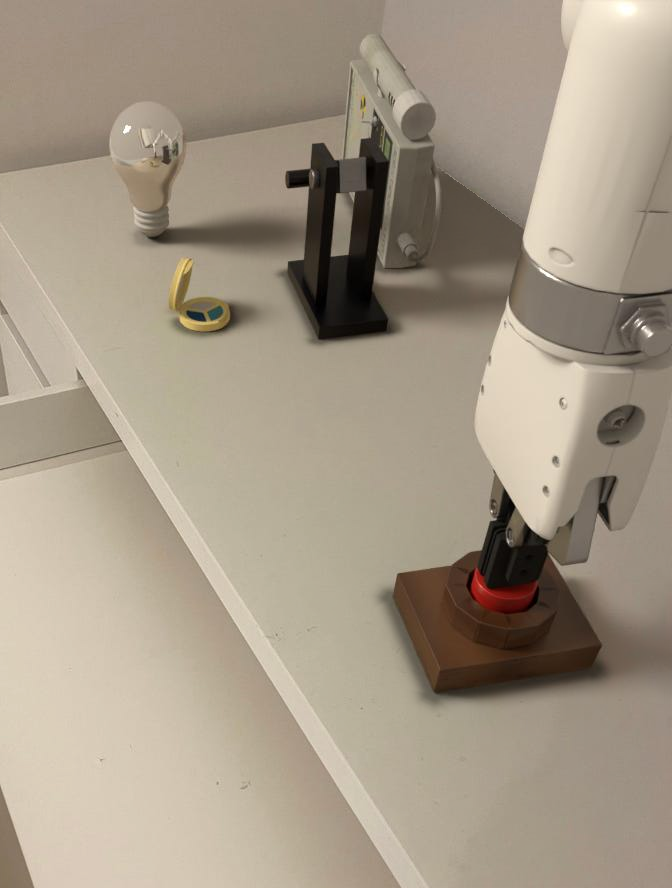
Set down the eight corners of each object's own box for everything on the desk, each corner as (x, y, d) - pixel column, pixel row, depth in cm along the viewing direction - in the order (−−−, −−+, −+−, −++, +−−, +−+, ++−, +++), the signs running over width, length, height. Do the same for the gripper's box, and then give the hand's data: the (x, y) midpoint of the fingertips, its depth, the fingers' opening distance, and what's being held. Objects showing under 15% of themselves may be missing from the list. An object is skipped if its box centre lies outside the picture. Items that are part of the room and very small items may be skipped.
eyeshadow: (222, 334, 83) (222, 280, 79) (166, 326, 84) (163, 272, 80) (235, 307, 86) (236, 254, 82) (181, 299, 87) (180, 246, 83)
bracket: (287, 273, 89) (295, 127, 80) (350, 266, 90) (366, 120, 80) (318, 339, 82) (331, 187, 72) (386, 331, 83) (409, 179, 73)
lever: (285, 194, 88) (284, 165, 87) (339, 188, 88) (338, 159, 87) (322, 195, 77) (321, 161, 76) (383, 188, 77) (383, 155, 76)
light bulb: (153, 262, 91) (146, 127, 82) (101, 238, 94) (89, 106, 85) (203, 234, 94) (201, 101, 85) (151, 211, 97) (144, 81, 88)
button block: (538, 574, 64) (554, 530, 61) (592, 668, 59) (612, 624, 56) (392, 596, 63) (400, 552, 60) (433, 693, 58) (445, 650, 55)
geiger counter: (341, 22, 91) (408, 135, 75) (408, 18, 92) (489, 129, 76) (329, 173, 102) (386, 300, 86) (389, 168, 102) (456, 294, 86)
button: (516, 571, 60) (523, 551, 59) (540, 614, 58) (548, 594, 56) (460, 579, 60) (466, 559, 58) (482, 623, 57) (488, 603, 56)
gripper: (771, 375, 39) (625, 664, 53) (603, 202, 48) (517, 485, 62) (593, 399, 38) (493, 685, 52) (458, 218, 48) (404, 501, 62)
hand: (506, 575), depth 57 cm, fingers closed
